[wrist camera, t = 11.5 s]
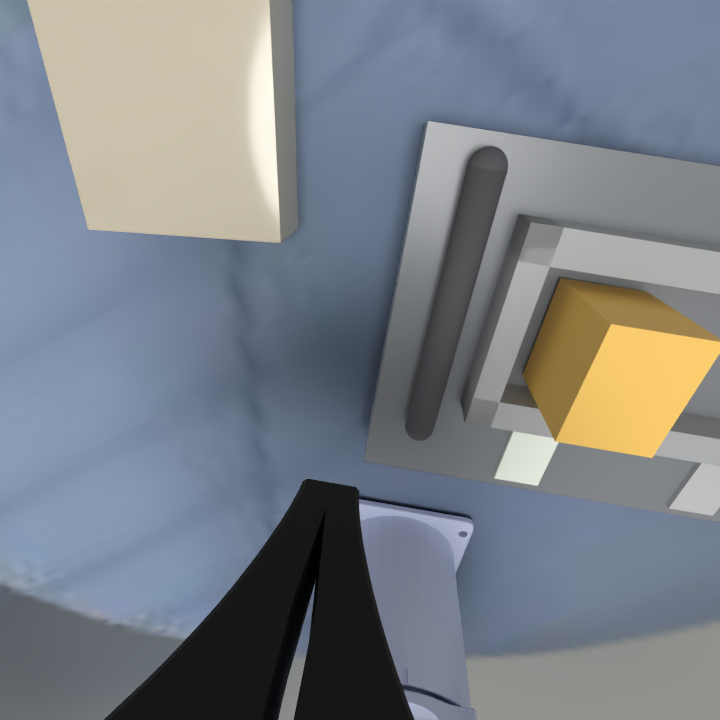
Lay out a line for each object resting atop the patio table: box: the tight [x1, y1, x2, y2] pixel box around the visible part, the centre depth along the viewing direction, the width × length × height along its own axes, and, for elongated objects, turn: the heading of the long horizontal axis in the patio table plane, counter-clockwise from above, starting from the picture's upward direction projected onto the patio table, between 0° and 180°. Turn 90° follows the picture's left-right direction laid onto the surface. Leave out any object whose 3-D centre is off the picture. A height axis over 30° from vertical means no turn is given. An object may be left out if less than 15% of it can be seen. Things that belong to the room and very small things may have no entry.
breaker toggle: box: [523, 278, 720, 458], centre depth 13 cm, size 4×3×4 cm
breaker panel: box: [364, 121, 720, 522], centre depth 16 cm, size 14×22×4 cm, turn 82°
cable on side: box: [405, 146, 508, 441], centre depth 15 cm, size 11×1×1 cm, turn 172°
